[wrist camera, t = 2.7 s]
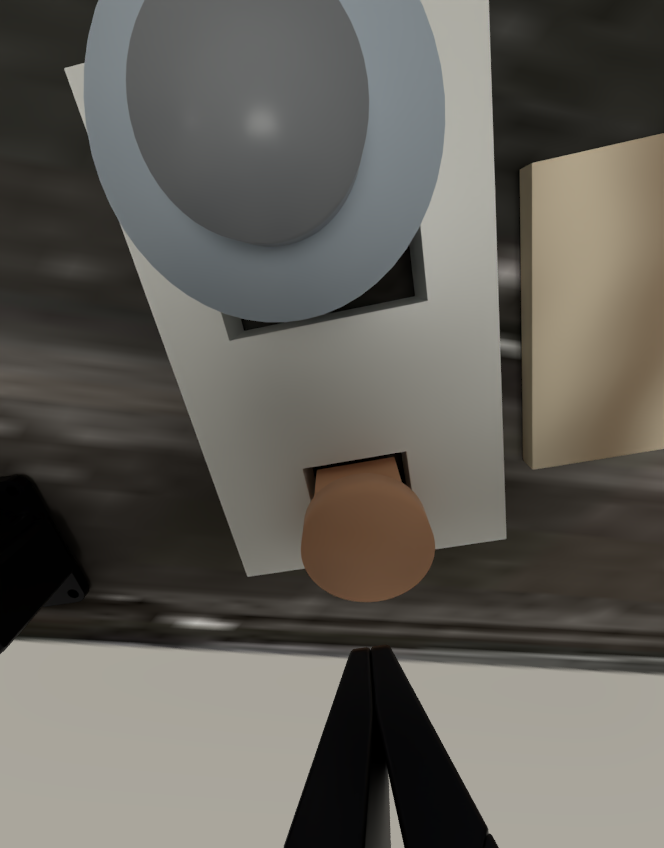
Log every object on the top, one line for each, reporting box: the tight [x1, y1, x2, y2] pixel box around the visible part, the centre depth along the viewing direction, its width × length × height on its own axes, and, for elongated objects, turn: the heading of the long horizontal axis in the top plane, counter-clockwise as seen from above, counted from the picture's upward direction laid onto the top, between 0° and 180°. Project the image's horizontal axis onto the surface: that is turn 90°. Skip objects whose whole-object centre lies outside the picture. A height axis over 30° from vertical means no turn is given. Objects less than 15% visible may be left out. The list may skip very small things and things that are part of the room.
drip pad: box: [520, 133, 664, 470], centre depth 13 cm, size 7×10×1 cm
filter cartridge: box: [84, 0, 445, 322], centre depth 8 cm, size 4×4×9 cm
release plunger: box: [301, 457, 435, 602], centre depth 13 cm, size 4×4×3 cm
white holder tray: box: [64, 0, 506, 577], centre depth 13 cm, size 10×16×2 cm, turn 11°
